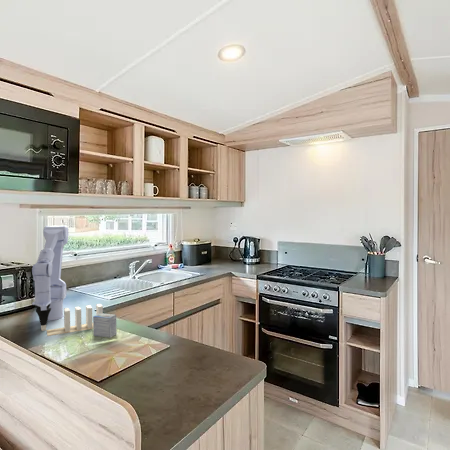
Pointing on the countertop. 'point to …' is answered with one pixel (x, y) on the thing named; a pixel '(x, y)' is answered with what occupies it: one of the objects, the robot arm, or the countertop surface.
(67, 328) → the domino
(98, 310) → the domino
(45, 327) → the domino
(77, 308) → the domino
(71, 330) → the oak strip
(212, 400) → the countertop surface
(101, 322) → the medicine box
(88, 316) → the domino
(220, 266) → the countertop surface
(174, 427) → the countertop surface
